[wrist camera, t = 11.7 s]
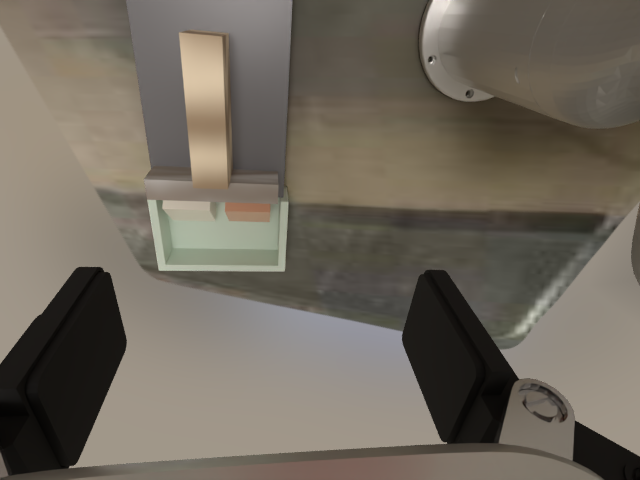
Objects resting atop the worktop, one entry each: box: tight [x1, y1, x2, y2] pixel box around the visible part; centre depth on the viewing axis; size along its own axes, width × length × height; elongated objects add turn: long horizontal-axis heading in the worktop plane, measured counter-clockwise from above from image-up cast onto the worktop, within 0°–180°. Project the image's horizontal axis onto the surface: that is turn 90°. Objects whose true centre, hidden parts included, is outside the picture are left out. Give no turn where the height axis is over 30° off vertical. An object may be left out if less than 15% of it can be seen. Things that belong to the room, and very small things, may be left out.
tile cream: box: [162, 200, 216, 222], centre depth 39 cm, size 4×4×2 cm
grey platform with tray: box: [126, 0, 292, 271], centre depth 35 cm, size 36×14×4 cm, turn 175°
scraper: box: [144, 30, 278, 204], centre depth 32 cm, size 14×12×5 cm
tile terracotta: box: [225, 202, 270, 222], centre depth 40 cm, size 4×4×2 cm
